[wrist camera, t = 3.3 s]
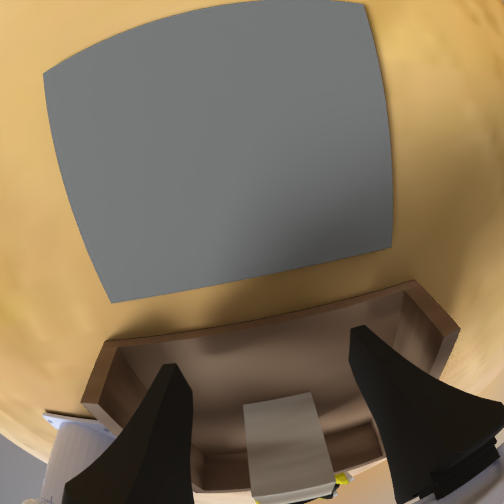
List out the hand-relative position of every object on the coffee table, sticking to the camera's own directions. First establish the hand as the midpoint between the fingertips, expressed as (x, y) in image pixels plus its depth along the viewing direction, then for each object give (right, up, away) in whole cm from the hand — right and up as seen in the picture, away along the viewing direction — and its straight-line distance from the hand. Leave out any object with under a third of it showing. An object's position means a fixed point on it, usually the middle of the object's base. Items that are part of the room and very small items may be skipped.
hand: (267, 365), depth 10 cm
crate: (+1, -5, +5) cm, 7 cm away
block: (+1, -6, +5) cm, 7 cm away
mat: (-2, +8, -2) cm, 9 cm away
